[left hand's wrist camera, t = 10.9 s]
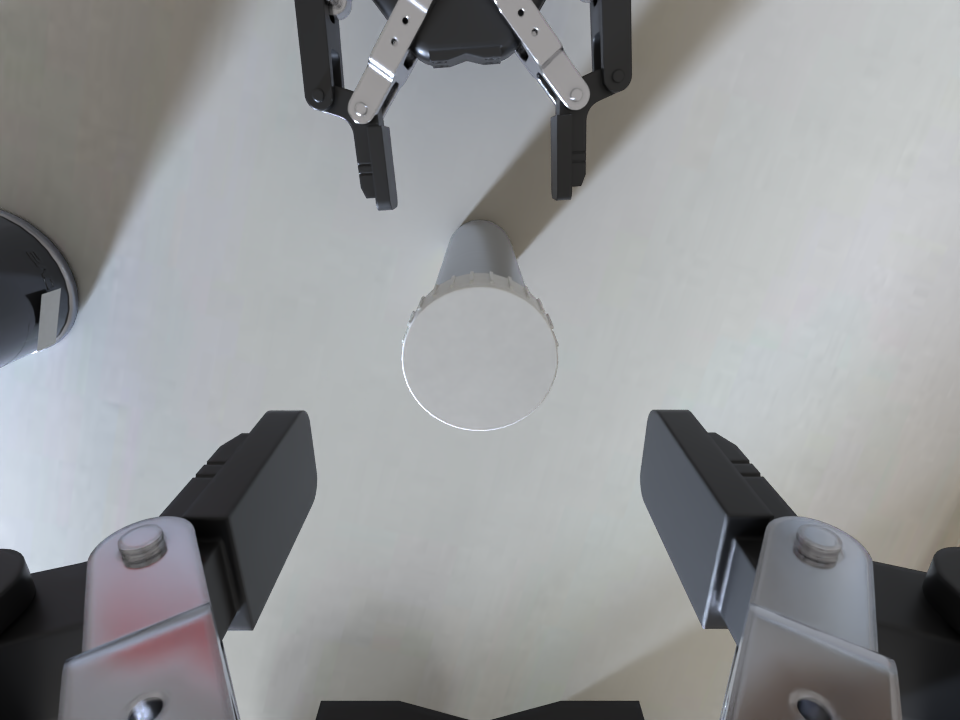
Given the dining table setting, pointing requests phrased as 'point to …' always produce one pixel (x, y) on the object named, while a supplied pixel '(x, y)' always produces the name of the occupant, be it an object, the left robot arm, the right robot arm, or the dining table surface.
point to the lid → (480, 352)
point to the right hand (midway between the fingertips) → (474, 203)
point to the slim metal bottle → (480, 252)
